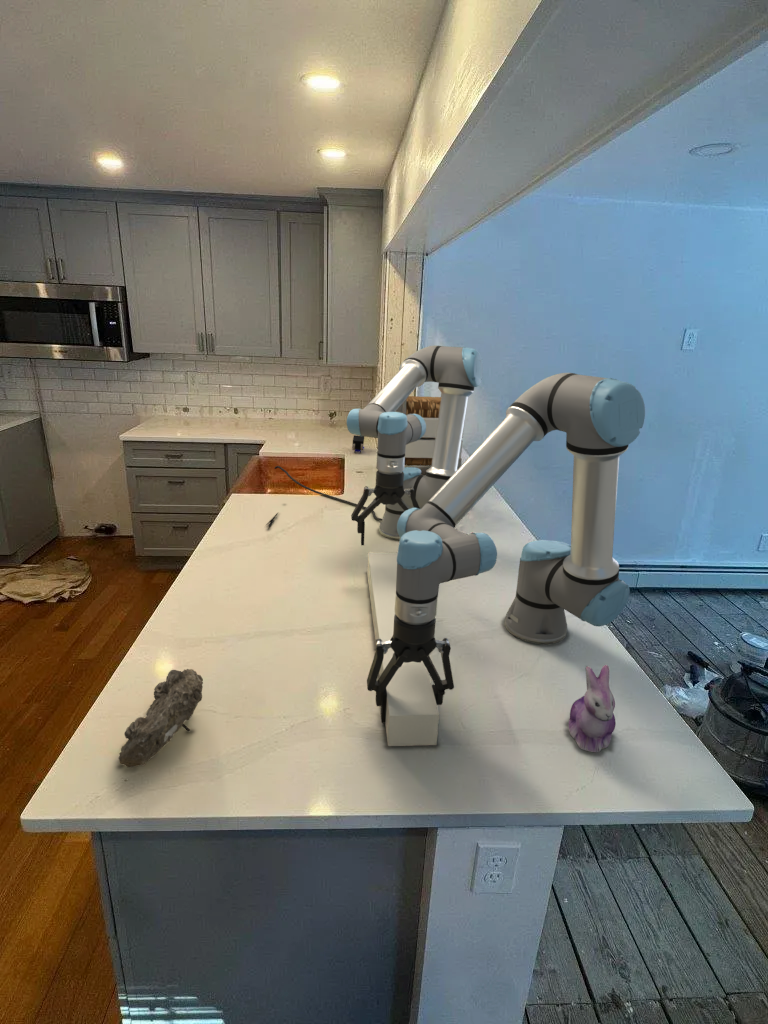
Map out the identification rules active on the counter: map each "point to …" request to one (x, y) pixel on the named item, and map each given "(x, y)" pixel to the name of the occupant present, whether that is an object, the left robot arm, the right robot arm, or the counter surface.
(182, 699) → the fossil
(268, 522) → the feather
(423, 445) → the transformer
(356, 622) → the counter surface
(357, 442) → the figurine character
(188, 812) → the counter surface
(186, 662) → the counter surface
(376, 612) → the wide beam
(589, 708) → the figurine
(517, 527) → the counter surface
